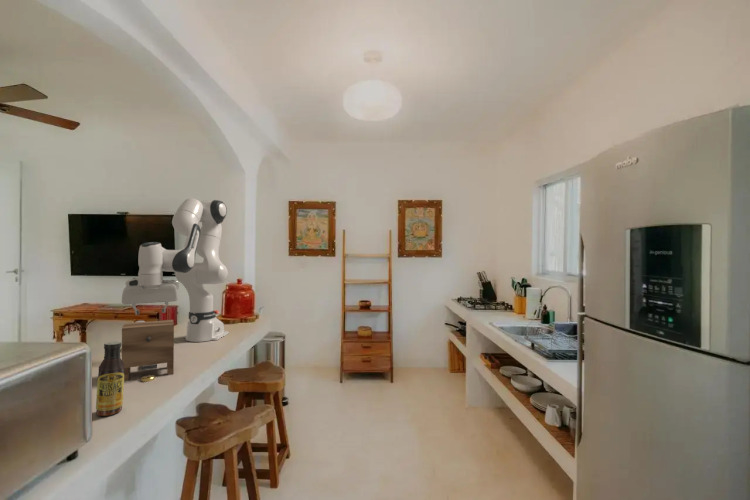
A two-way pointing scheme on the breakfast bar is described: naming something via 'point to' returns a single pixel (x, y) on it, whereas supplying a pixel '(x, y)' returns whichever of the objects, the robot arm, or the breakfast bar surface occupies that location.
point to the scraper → (149, 367)
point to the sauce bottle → (110, 381)
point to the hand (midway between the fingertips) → (150, 313)
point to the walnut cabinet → (148, 345)
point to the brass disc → (147, 378)
